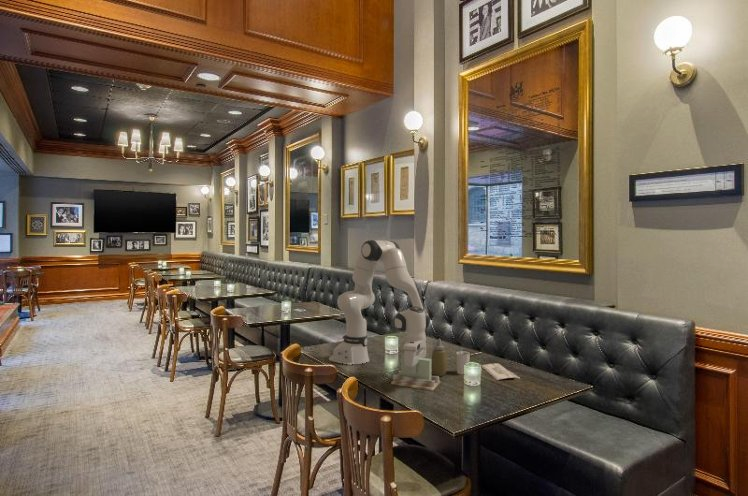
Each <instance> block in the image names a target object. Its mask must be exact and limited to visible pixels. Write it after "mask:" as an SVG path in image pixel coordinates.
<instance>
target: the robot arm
mask: <svg viewBox="0 0 748 496" xmlns="http://www.w3.org/2000/svg"><path fill="white" fill-rule="evenodd" d="M379 262H381V263H383V266H384V267H383V268H384V272H385V278H386V281H387V283H388V284H389V285H390V286H392V287H393V288H395V289H398V290H401V291H403V292H405V293H406V294H407V295H408V296H409V299H410V302H411V305H412V306H410V307H408V308H407V310H404V311H400V312H397V313H396V315H395V316H394V318H393V326H394V328H395V329H396V331H398V332H400V333H406V340H405V343H404V344H403V345H402V346H403V348H402V349H403V351H404V354H403V355H404V362H405V366H406V367H411V368H412V373H416V372H417V369H416V364H417V363H418V362H419V359H420V358H427V344H426V342H427V341H426V336H427V335H426V330H427V329H428V327H429V326H430V325H431V317H430V315H429V313H428V311H427V309H426V306H425V304H424V301H423V297H422V295H421V292H420V289H419V287H418V284H417V282H416V280H415V279H413V278H412V276H411V275H410V273H409V271H408V266H407V262H406V258H405V257H404V254H403V252H402V250H401V248H400V245H399V244H398V243H397V242H394V241H392V240H385V239H380V240H378V239H377V240H376V239H371V240H370V239H368V240H366V241H364V242H363V244H362V246H361V249H360V252H359V254H358V256H357V258H356V262H355V266H354V269H353V273H352V281H353V282H354V289H353V290H348V291H345V292H343V293H342V294H340V295H339V296H338V297H337V300H336V301H337V307H338V308H339V310H340V311H341V312H342V313H343V316H344V318H345V323H346V324H345V325H346V328H345V329H346V333H345V335H344V336H342V337H341V338H342V340H343V341H342V342H340V343H339V344H337V346H336V347H334V349H333V353H332V355H331V356H329V357H328V361H330V362H334V363H339V364H342V363H343V365H346V364H347V366H351V365H352V364H353V365H362V363H363V364H366V362H367V363H368V362H370V357H369V352H368V334H367V328H368V327H367V325H368V322H367V320H366V319H365V318H364V317H363V315H362V310H365V309H367V308H370V307H371V306H372V305H374V303H375V301H376V297H375V296H376V295H375V293H374V292H373V287H372V286H373V280H374V276H375V272H376V267H377V264H378V263H379ZM353 365H352V366H353Z"/></svg>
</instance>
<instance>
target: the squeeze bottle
mask: <svg viewBox="0 0 748 496" xmlns="http://www.w3.org/2000/svg"><path fill="white" fill-rule="evenodd" d="M431 359H432V367H431V373H432V374H433V375H432V376H439V377H444V376H445V375H446V372H447V371H448V361H447V351H446V350H445V346H444V345H443V344H442V340H441V338H438V339H437V343H436V344H435V345H434V349H433V350H432V354H431Z"/></svg>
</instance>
